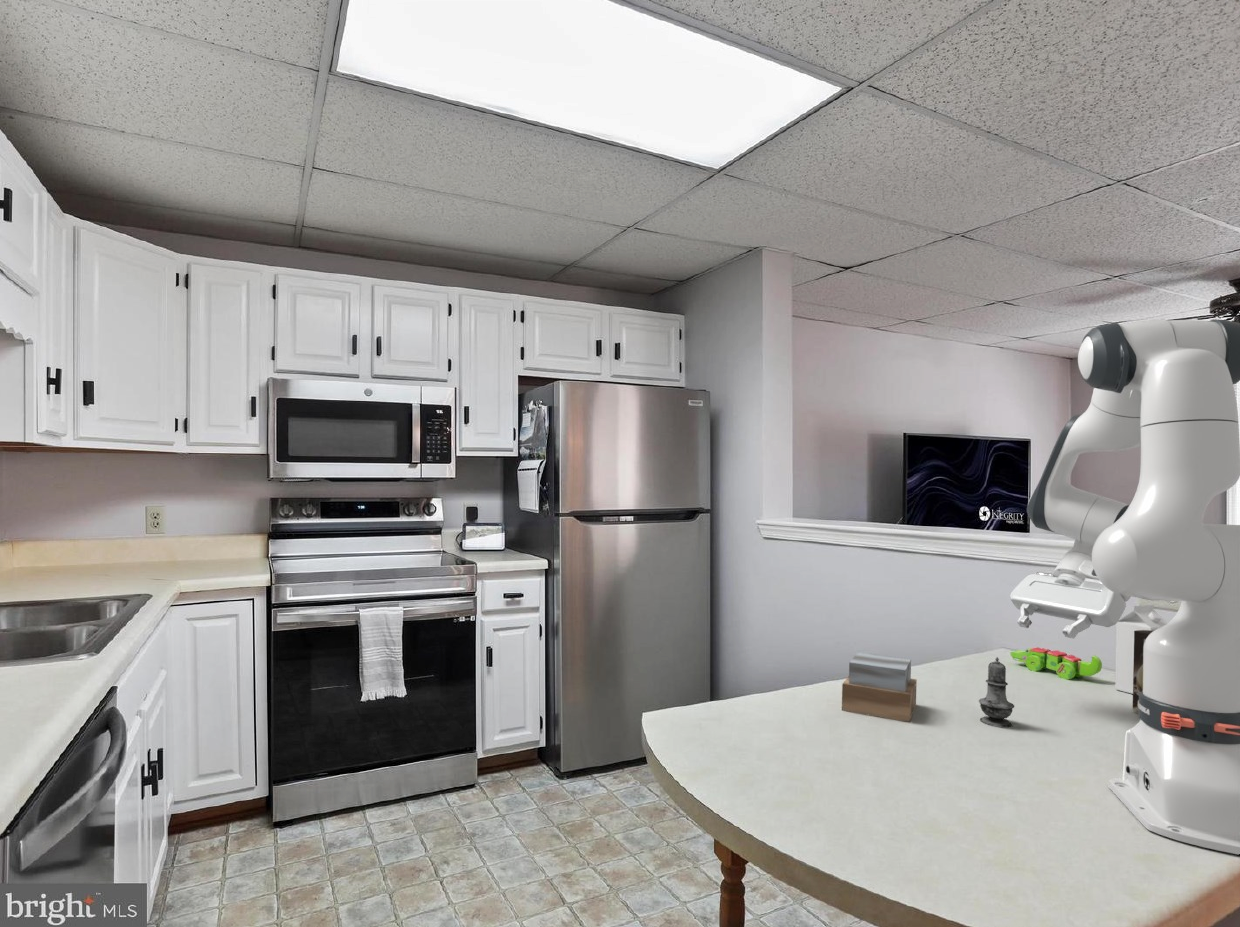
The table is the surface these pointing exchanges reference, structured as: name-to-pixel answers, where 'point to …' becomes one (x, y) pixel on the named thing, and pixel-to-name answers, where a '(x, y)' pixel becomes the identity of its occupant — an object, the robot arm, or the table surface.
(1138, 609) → the milk carton
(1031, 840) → the table surface
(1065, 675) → the toy crocodile
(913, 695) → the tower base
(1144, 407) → the robot arm
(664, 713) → the table surface
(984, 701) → the salt shaker
